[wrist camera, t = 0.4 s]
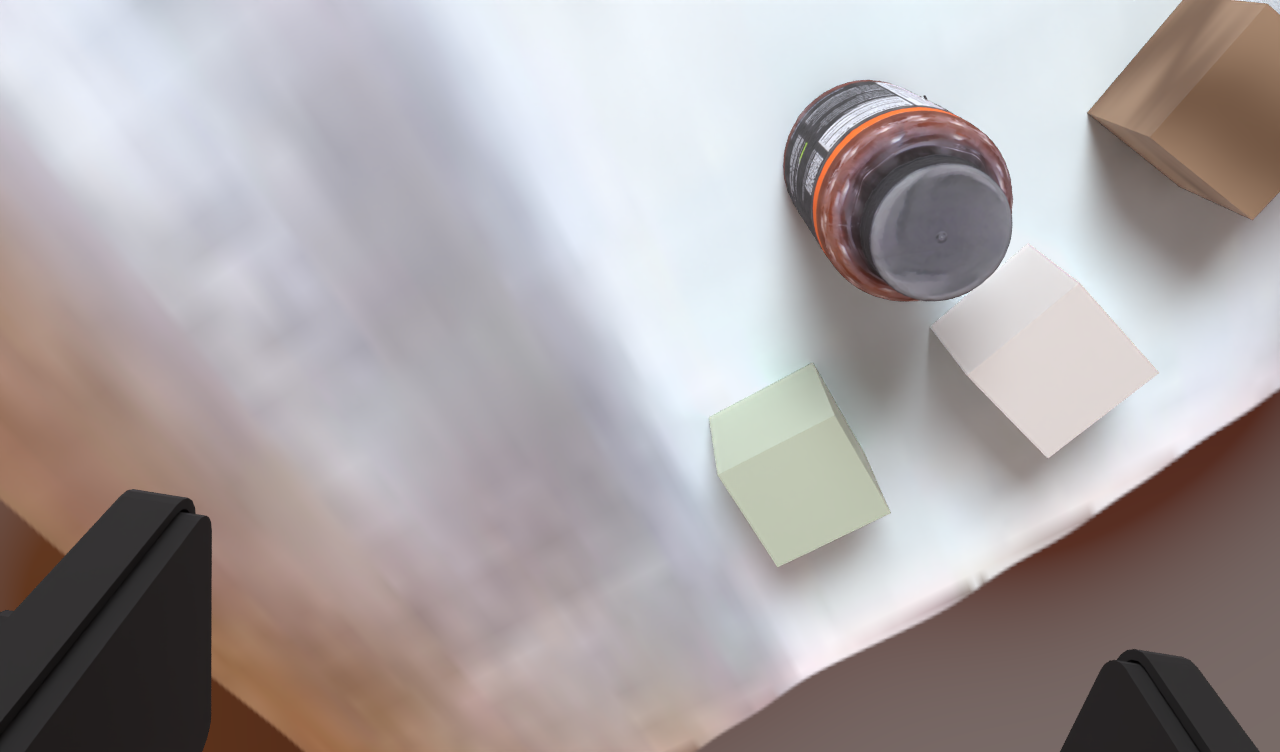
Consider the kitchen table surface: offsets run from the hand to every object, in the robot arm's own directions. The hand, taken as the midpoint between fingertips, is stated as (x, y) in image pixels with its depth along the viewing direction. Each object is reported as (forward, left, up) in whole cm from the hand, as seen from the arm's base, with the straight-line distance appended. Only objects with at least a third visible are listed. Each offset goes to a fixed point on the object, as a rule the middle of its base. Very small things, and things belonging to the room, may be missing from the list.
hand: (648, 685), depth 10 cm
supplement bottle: (-5, +6, -30) cm, 31 cm away
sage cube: (+5, +13, -30) cm, 33 cm away
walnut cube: (-15, +13, -30) cm, 36 cm away
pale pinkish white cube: (-5, +16, -30) cm, 34 cm away
